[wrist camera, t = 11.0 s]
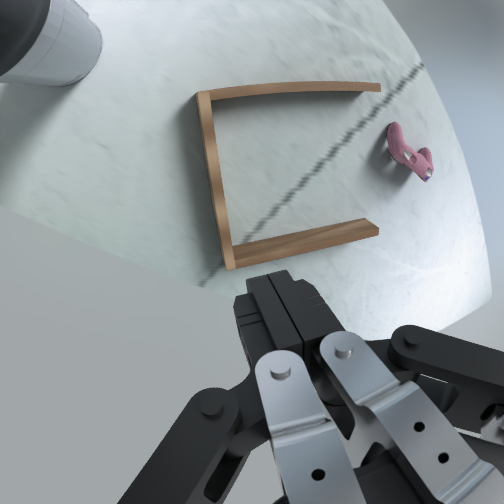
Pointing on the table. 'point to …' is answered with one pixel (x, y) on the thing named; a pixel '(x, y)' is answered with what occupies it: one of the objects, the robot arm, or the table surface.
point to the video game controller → (409, 153)
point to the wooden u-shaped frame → (231, 254)
